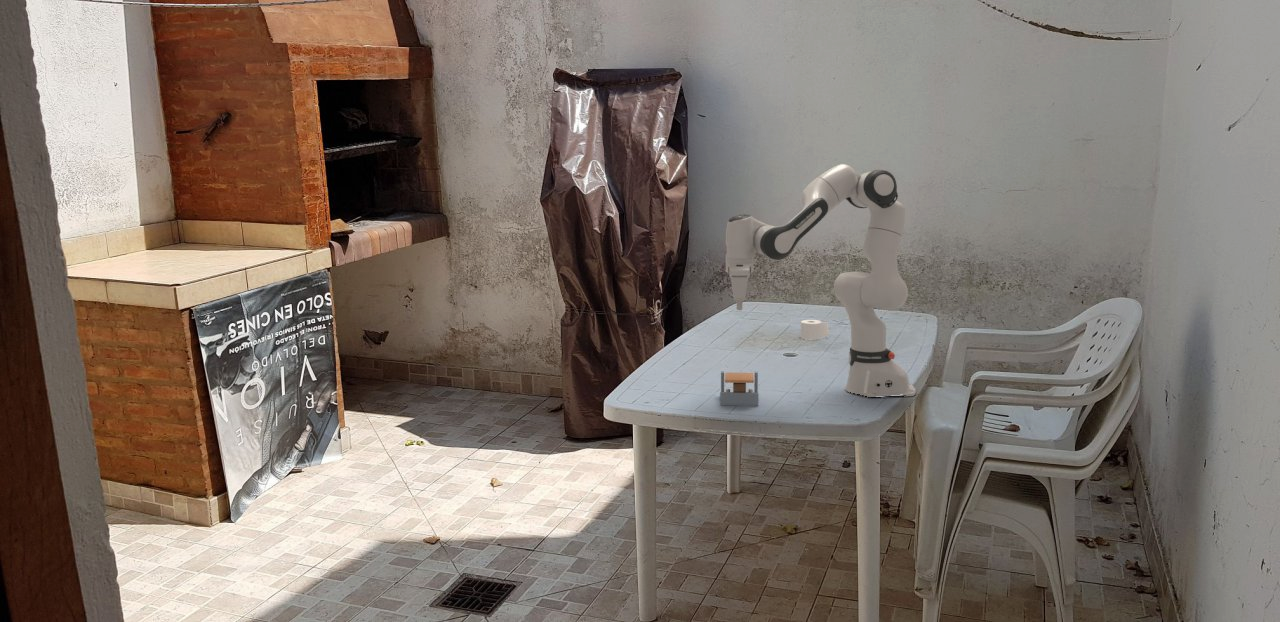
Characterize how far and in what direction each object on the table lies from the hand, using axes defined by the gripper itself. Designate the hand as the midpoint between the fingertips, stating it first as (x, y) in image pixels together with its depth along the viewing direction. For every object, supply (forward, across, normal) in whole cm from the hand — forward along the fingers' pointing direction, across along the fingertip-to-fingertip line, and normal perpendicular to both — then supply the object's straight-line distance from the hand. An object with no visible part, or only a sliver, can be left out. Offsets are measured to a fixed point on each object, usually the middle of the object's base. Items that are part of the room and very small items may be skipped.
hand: (739, 309), depth 312 cm
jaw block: (+28, +5, 0) cm, 28 cm away
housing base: (+29, +4, 0) cm, 29 cm away
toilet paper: (+29, -87, +31) cm, 97 cm away
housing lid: (+22, +4, 0) cm, 22 cm away
